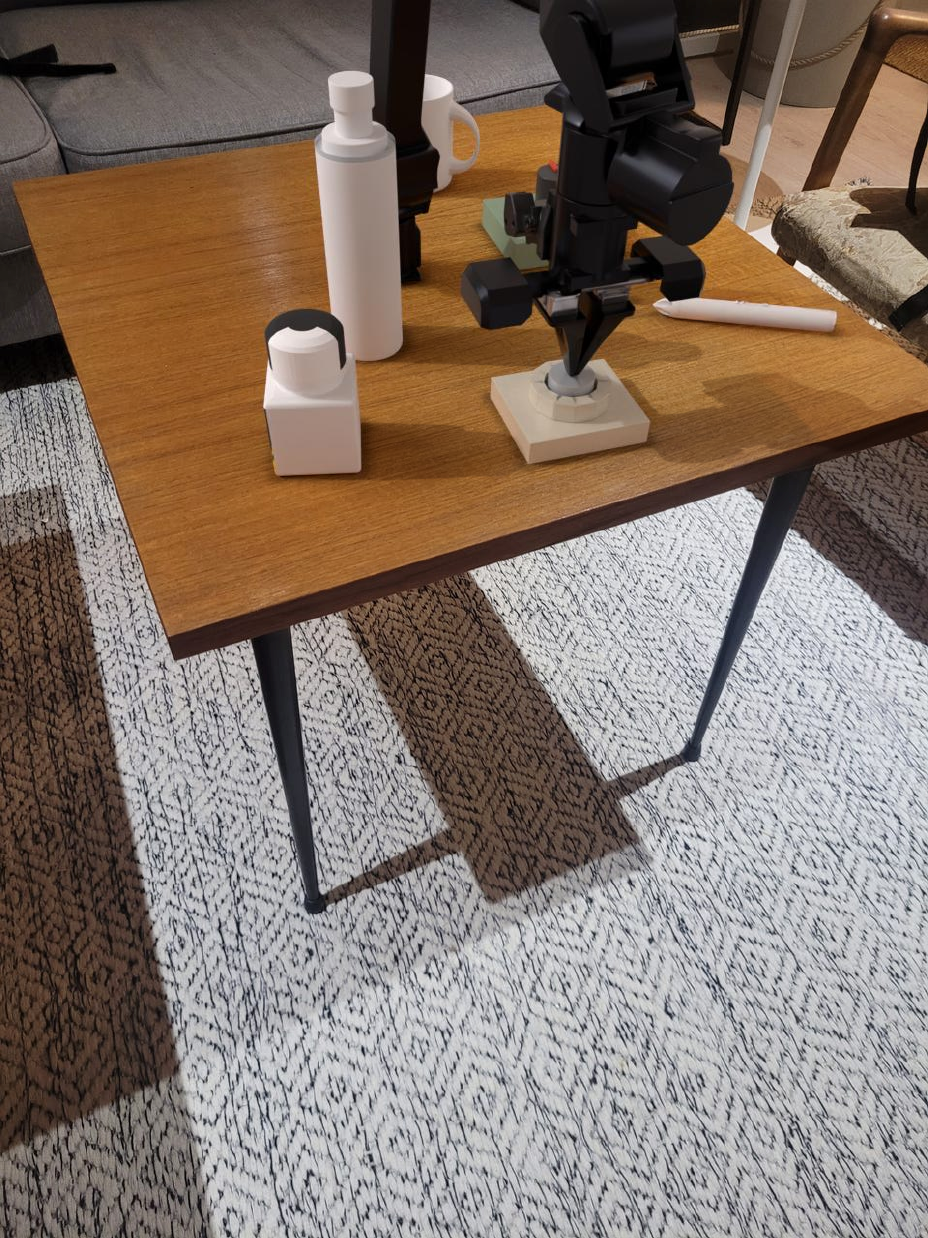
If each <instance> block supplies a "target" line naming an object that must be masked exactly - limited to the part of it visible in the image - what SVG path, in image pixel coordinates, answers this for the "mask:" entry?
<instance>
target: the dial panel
mask: <svg viewBox="0 0 928 1238" xmlns="http://www.w3.org/2000/svg"><path fill="white" fill-rule="evenodd" d="M535 193H536V192H535ZM535 193H532V194H533V197H534V201H535ZM504 203H505V196H502V197H494V198H486V199H483V200H482V215H481V216H482V219H481V226H482V228H483V229H484V230H485V231H486V232H485V233H487V234H488V236H489V238H491V240H492V242H493V243H494V244H495V246H496V248H497V249H498V250H499V252H500V253H501V255H502V256H503V258H506V257H511V259H512V260H513V262H514V263H515V264H516V266H517V267H518V269H519V270H520V271H521V270H527V269H528V270H529V269H535V268H541V267H548V266H549V262H548V261H547V260H543V261H541V260H540V258H539V257H538V255H537V254H536V249H537V244H533V243H531V244H529V245H528V244H526V240H525V236H524V237H516V238H515V237H511V236H508V235H507V234H506V232H505V229H504Z"/></svg>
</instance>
